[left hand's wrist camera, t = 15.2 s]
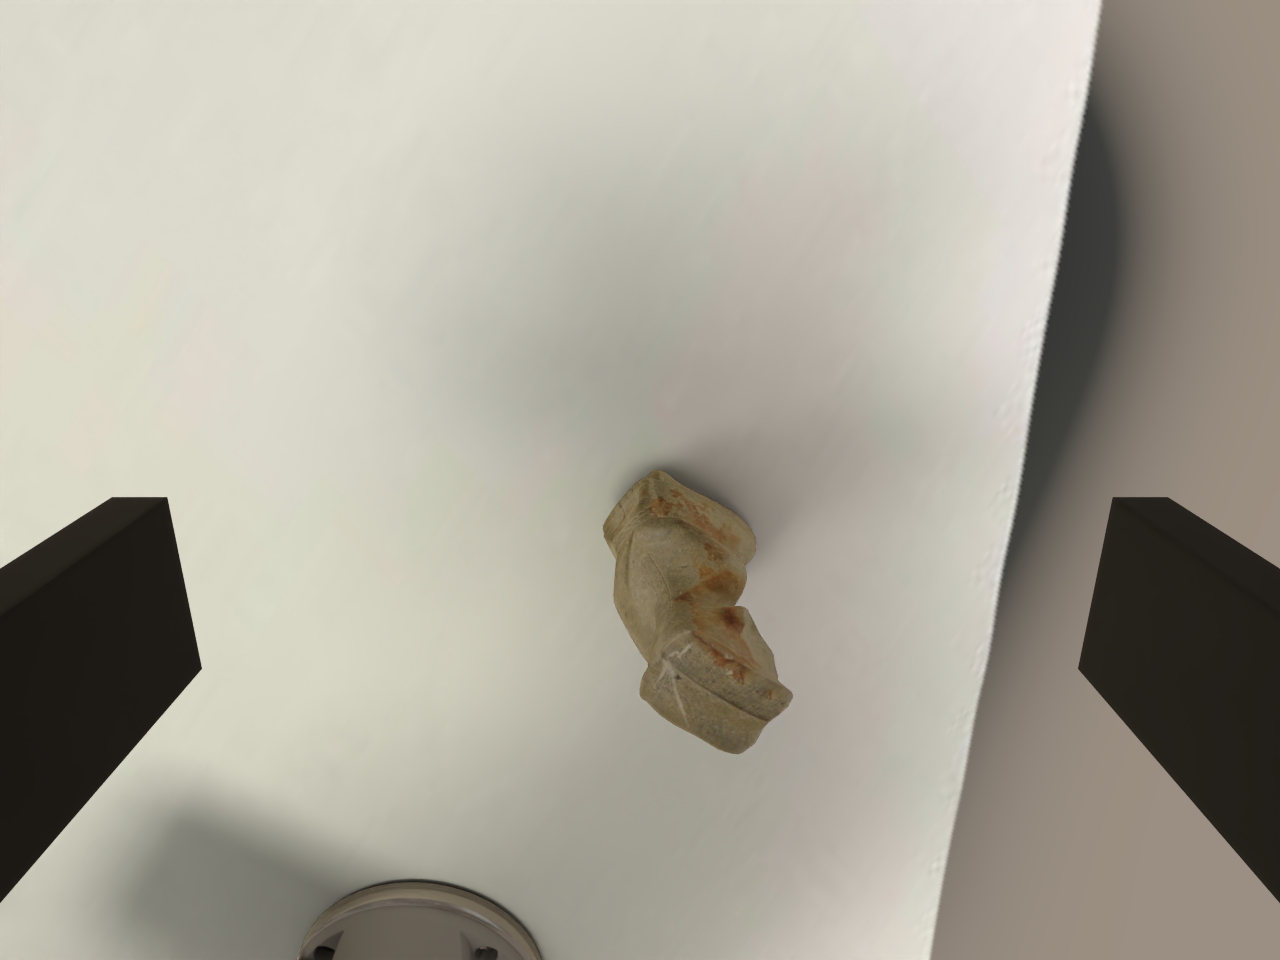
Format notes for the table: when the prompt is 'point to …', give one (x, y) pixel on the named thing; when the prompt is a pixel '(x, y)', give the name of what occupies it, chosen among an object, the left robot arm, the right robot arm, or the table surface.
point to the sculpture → (692, 612)
